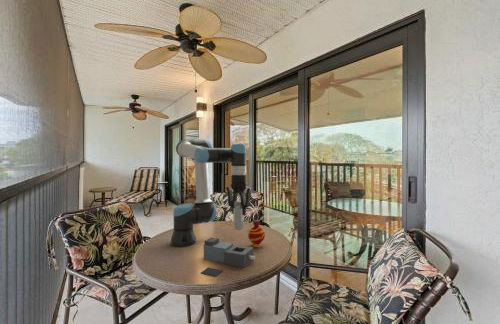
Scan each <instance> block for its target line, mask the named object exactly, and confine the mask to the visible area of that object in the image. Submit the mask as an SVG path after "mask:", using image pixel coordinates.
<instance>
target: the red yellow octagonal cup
mask: <svg viewBox="0 0 500 324" xmlns="http://www.w3.org/2000/svg"><path fill="white" fill-rule="evenodd" d="M260 221H261V220H260V219H253V220H252V224H253V227H251V228H249V230H248V231H247V233H248V234H247V237H248V240H249V241H250V242H251V243H252V245H251V247H253V248H259V247H261V246H262V245H261V243H262V242H263V241H264V240H265V236H266V235H265V234H266V232H265V230H264V229H263V228H262V227H261V226H260V225H261V222H260Z"/></svg>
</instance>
